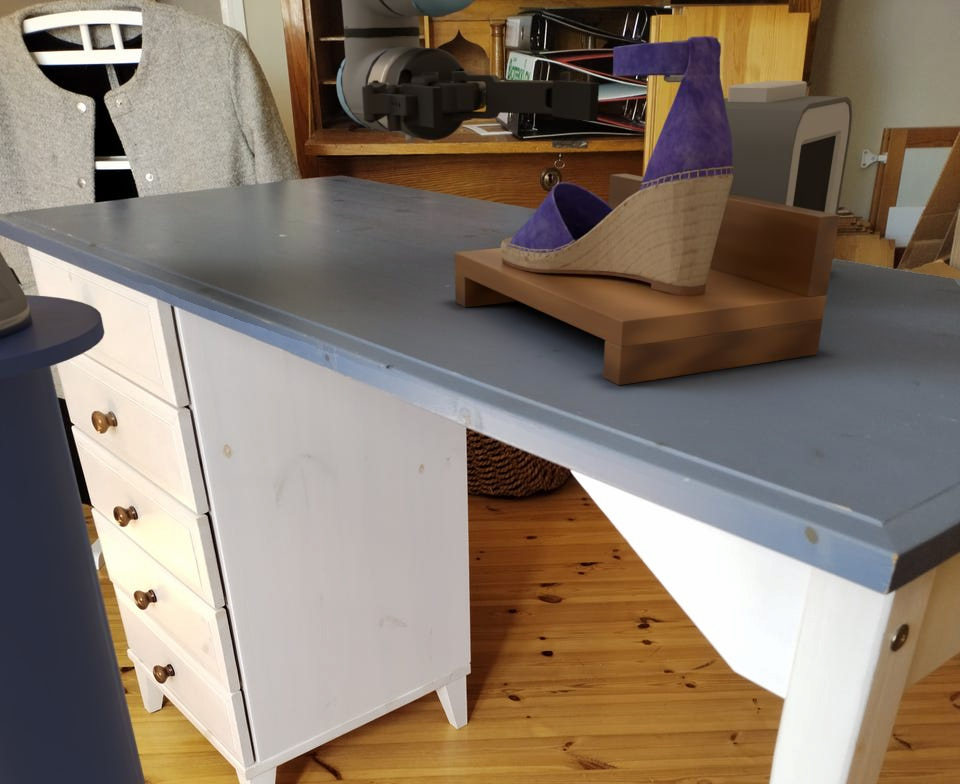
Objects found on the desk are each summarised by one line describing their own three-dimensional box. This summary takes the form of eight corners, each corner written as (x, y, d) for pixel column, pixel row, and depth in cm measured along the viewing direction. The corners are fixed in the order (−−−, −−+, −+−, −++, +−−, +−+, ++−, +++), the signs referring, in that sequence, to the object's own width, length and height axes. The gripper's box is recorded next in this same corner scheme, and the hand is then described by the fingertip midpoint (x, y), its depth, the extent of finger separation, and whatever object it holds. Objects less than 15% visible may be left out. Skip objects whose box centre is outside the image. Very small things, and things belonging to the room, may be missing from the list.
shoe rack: (618, 385, 64) (628, 234, 60) (455, 302, 85) (452, 185, 80) (817, 354, 70) (840, 215, 65) (619, 284, 90) (626, 173, 86)
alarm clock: (771, 306, 82) (800, 88, 74) (642, 291, 87) (657, 86, 79) (828, 271, 94) (858, 80, 86) (712, 260, 99) (731, 78, 91)
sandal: (566, 248, 83) (573, 36, 76) (738, 292, 69) (769, 35, 61) (482, 259, 80) (481, 37, 72) (646, 307, 65) (666, 37, 58)
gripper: (536, 132, 102) (650, 150, 85) (295, 143, 93) (370, 166, 77) (537, 46, 98) (657, 47, 82) (286, 49, 90) (363, 51, 73)
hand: (518, 105), depth 79 cm, fingers open, 13 cm apart
